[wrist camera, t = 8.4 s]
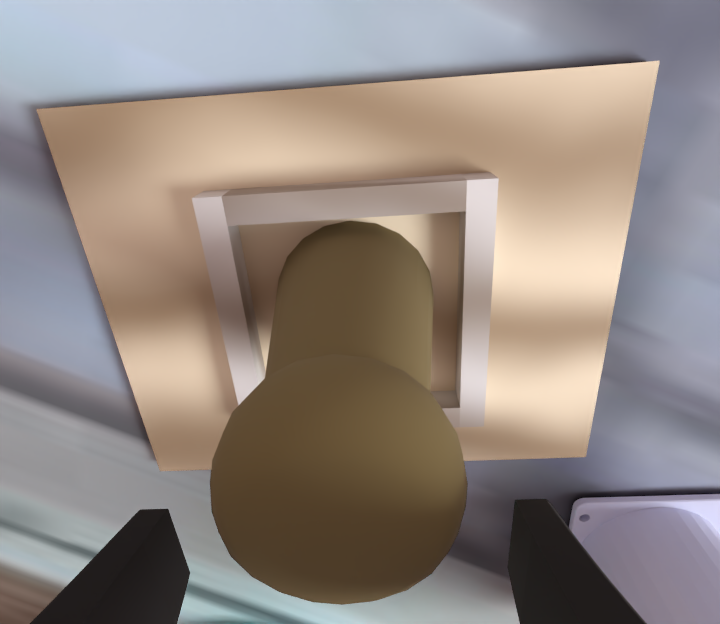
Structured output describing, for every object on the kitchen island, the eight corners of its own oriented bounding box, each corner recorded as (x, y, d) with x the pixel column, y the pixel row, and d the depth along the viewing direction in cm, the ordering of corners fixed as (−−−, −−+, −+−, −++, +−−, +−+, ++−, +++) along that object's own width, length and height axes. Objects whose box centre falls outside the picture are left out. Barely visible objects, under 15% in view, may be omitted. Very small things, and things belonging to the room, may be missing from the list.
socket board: (580, 447, 22) (596, 476, 20) (165, 462, 23) (149, 490, 21) (648, 61, 15) (682, 58, 13) (47, 108, 16) (10, 110, 14)
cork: (245, 285, 18) (88, 530, 8) (366, 185, 16) (356, 342, 6) (345, 387, 20) (319, 684, 10) (464, 308, 18) (573, 574, 8)
